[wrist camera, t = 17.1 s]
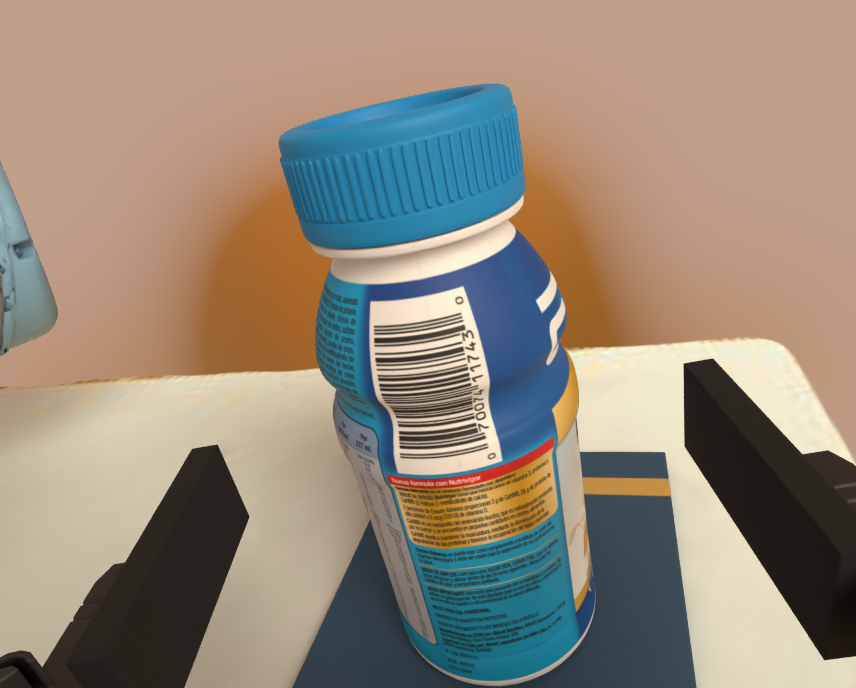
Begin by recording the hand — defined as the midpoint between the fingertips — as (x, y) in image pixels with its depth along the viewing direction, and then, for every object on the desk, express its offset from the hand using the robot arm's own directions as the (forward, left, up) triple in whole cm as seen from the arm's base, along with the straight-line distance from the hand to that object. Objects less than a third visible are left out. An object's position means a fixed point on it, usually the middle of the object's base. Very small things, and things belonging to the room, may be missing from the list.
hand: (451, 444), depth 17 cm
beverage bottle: (-3, +2, -11) cm, 12 cm away
